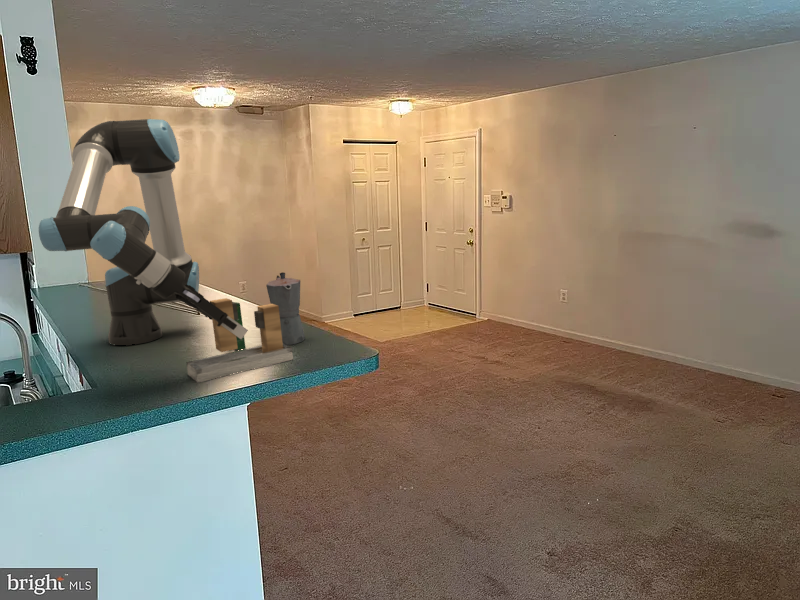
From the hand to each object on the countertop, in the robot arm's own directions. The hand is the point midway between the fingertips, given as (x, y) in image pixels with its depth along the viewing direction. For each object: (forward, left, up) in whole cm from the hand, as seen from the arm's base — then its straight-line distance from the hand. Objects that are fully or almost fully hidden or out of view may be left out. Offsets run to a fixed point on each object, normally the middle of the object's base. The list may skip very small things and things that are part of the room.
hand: (240, 332), depth 143 cm
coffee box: (-19, +4, -9) cm, 22 cm away
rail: (0, -1, -9) cm, 9 cm away
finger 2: (0, +8, -7) cm, 10 cm away
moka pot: (-14, +18, -9) cm, 25 cm away
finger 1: (0, -4, -3) cm, 5 cm away
